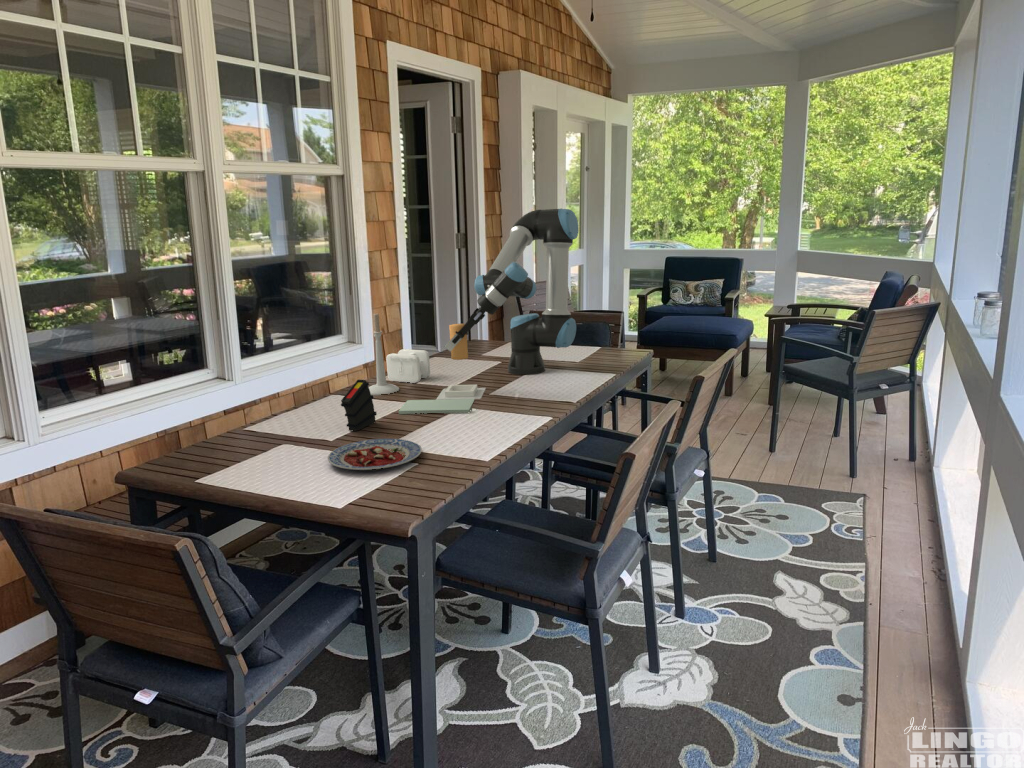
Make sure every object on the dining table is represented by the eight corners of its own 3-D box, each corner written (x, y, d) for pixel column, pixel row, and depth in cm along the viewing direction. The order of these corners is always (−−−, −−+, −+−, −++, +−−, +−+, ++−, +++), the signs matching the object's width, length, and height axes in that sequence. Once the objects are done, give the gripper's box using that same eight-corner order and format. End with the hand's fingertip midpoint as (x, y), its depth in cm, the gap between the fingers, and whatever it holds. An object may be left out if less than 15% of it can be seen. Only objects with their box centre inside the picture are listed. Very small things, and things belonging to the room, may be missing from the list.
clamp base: (486, 390, 286) (485, 382, 285) (480, 401, 271) (480, 393, 270) (443, 391, 288) (443, 383, 287) (436, 402, 272) (435, 394, 271)
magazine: (382, 414, 252) (367, 379, 243) (362, 442, 243) (346, 406, 234) (372, 414, 254) (357, 378, 245) (352, 441, 245) (336, 405, 236)
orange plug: (469, 356, 279) (467, 323, 276) (466, 359, 273) (464, 326, 270) (452, 356, 279) (450, 323, 276) (450, 360, 273) (447, 326, 270)
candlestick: (372, 386, 299) (366, 310, 292) (403, 387, 297) (398, 310, 290) (359, 395, 287) (352, 315, 280) (392, 395, 284) (385, 315, 277)
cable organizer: (432, 378, 309) (430, 350, 306) (418, 384, 300) (416, 355, 297) (402, 376, 316) (400, 348, 313) (386, 382, 306) (384, 353, 304)
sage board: (474, 402, 270) (474, 398, 270) (469, 413, 256) (469, 409, 256) (407, 403, 272) (407, 400, 272) (398, 414, 259) (398, 410, 258)
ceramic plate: (338, 483, 197) (337, 472, 197) (320, 454, 220) (319, 444, 220) (434, 466, 207) (433, 455, 206) (407, 440, 230) (406, 431, 229)
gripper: (487, 289, 279) (445, 335, 284) (480, 296, 260) (436, 345, 266) (502, 303, 279) (460, 348, 285) (497, 311, 261) (452, 359, 267)
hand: (449, 346), depth 275 cm, fingers closed on orange plug, 6 cm apart
